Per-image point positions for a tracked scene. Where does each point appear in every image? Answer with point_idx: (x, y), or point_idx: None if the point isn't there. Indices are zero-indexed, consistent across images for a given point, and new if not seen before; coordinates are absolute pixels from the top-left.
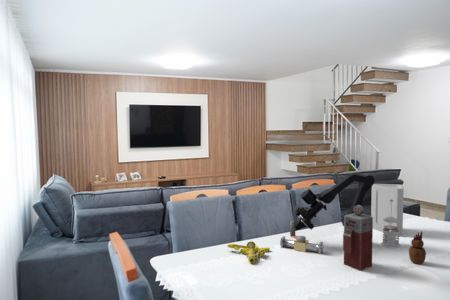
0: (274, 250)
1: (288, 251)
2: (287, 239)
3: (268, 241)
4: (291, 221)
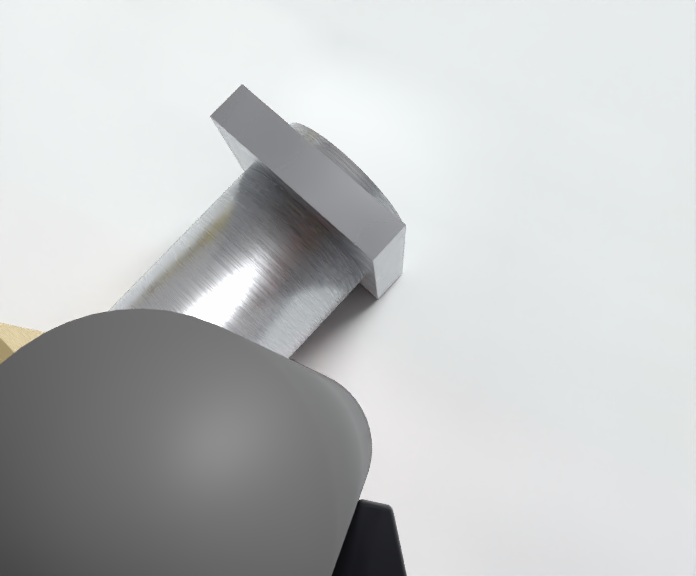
0: (181, 20)
1: (63, 220)
2: (246, 267)
3: (652, 68)
4: (182, 423)
